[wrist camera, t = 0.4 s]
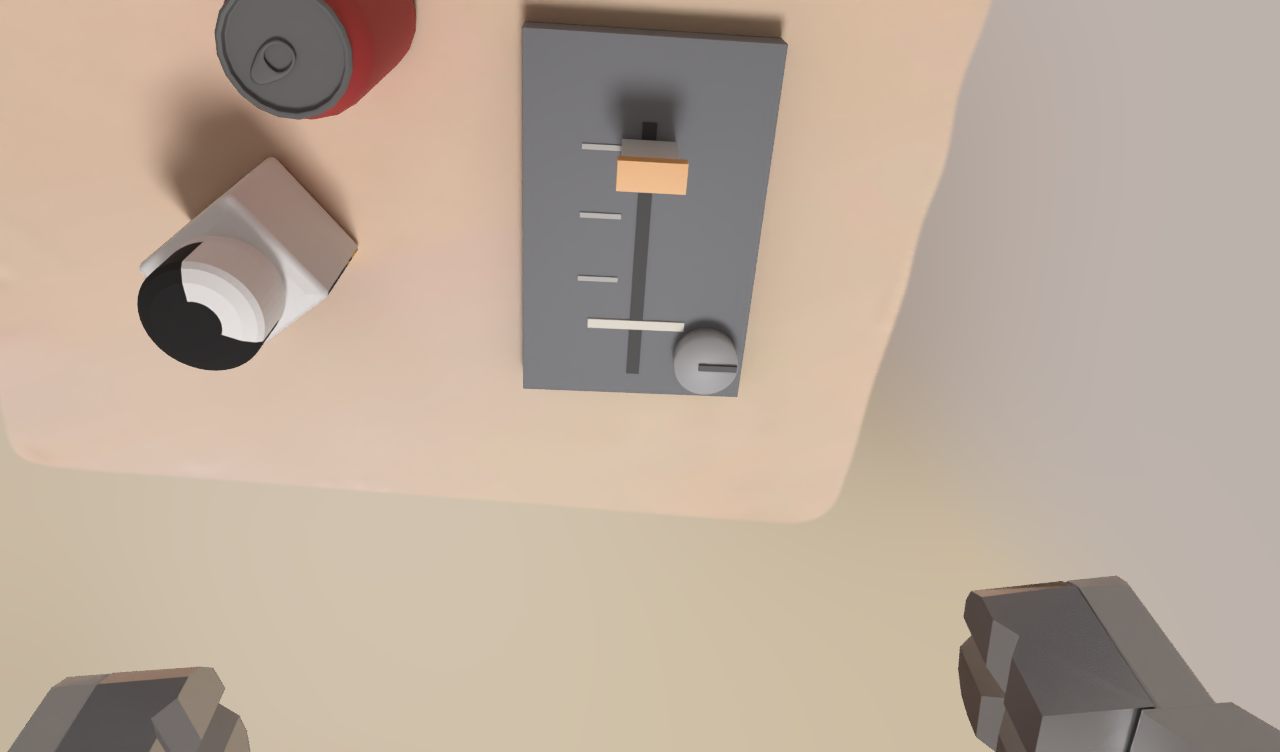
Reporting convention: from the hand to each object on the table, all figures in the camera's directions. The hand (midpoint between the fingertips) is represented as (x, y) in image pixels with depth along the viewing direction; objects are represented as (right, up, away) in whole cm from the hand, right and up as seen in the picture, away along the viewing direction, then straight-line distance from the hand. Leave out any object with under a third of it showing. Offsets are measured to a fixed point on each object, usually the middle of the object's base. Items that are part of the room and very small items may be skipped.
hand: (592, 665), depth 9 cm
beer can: (-15, +23, +37) cm, 46 cm away
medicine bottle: (-21, +12, +43) cm, 50 cm away
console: (+1, +13, +43) cm, 45 cm away
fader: (+1, +16, +39) cm, 42 cm away
